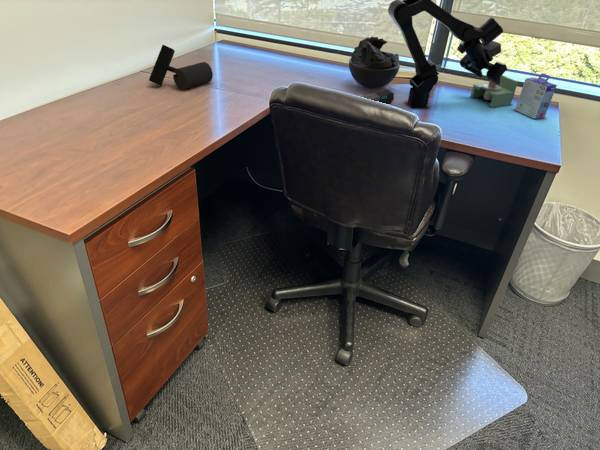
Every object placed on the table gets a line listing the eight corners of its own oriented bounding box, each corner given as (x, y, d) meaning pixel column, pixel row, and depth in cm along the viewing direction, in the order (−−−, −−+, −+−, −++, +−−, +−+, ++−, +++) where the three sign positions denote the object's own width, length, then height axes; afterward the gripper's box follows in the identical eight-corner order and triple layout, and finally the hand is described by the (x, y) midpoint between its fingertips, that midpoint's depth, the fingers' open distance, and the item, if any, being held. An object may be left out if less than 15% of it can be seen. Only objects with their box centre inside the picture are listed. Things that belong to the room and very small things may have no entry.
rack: (491, 107, 177) (498, 84, 172) (470, 96, 186) (476, 74, 181) (510, 104, 181) (518, 81, 176) (488, 94, 190) (495, 72, 184)
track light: (217, 69, 185) (170, 47, 183) (212, 62, 171) (161, 38, 169) (203, 105, 187) (156, 84, 185) (196, 101, 173) (145, 78, 171)
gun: (396, 110, 168) (392, 85, 162) (347, 132, 166) (341, 108, 160) (390, 106, 171) (386, 81, 165) (342, 127, 170) (336, 103, 163)
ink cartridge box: (545, 117, 171) (560, 78, 163) (535, 119, 169) (549, 80, 161) (524, 108, 178) (537, 70, 170) (514, 110, 176) (526, 71, 168)
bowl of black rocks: (378, 77, 200) (384, 31, 189) (405, 93, 186) (414, 43, 175) (337, 82, 193) (342, 34, 182) (362, 98, 178) (369, 47, 167)
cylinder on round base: (485, 102, 179) (494, 69, 172) (475, 95, 184) (484, 64, 177) (500, 101, 180) (510, 69, 173) (490, 95, 186) (499, 63, 179)
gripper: (511, 41, 159) (524, 71, 169) (474, 28, 173) (488, 57, 183) (487, 66, 161) (501, 94, 171) (452, 51, 174) (467, 78, 185)
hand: (489, 80), depth 177 cm, fingers open, 9 cm apart
